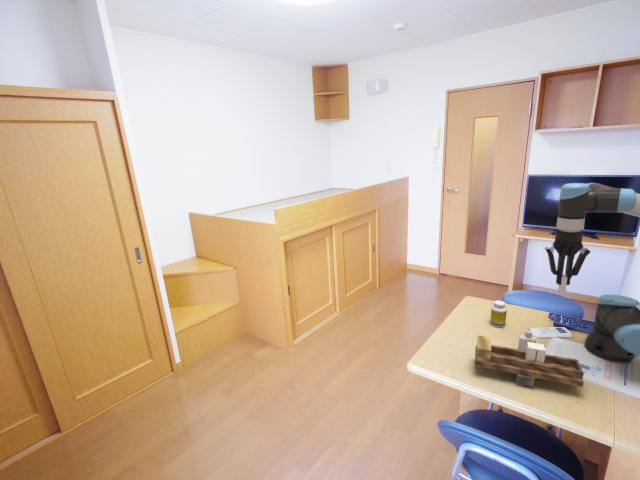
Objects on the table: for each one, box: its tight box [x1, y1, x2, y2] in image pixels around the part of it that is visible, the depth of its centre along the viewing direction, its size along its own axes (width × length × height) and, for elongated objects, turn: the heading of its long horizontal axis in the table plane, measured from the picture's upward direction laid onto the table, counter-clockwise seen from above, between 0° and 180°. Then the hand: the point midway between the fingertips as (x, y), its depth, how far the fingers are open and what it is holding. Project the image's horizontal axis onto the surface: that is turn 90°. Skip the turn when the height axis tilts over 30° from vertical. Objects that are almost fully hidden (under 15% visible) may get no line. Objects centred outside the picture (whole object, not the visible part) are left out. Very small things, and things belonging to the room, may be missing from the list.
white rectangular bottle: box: [517, 327, 537, 351], centre depth 131 cm, size 4×6×12 cm
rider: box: [525, 342, 547, 364], centre depth 117 cm, size 5×4×7 cm
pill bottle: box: [489, 299, 508, 328], centre depth 154 cm, size 6×6×11 cm
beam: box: [474, 335, 585, 390], centre depth 119 cm, size 32×12×11 cm, turn 65°
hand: (561, 292), depth 120 cm, fingers closed
